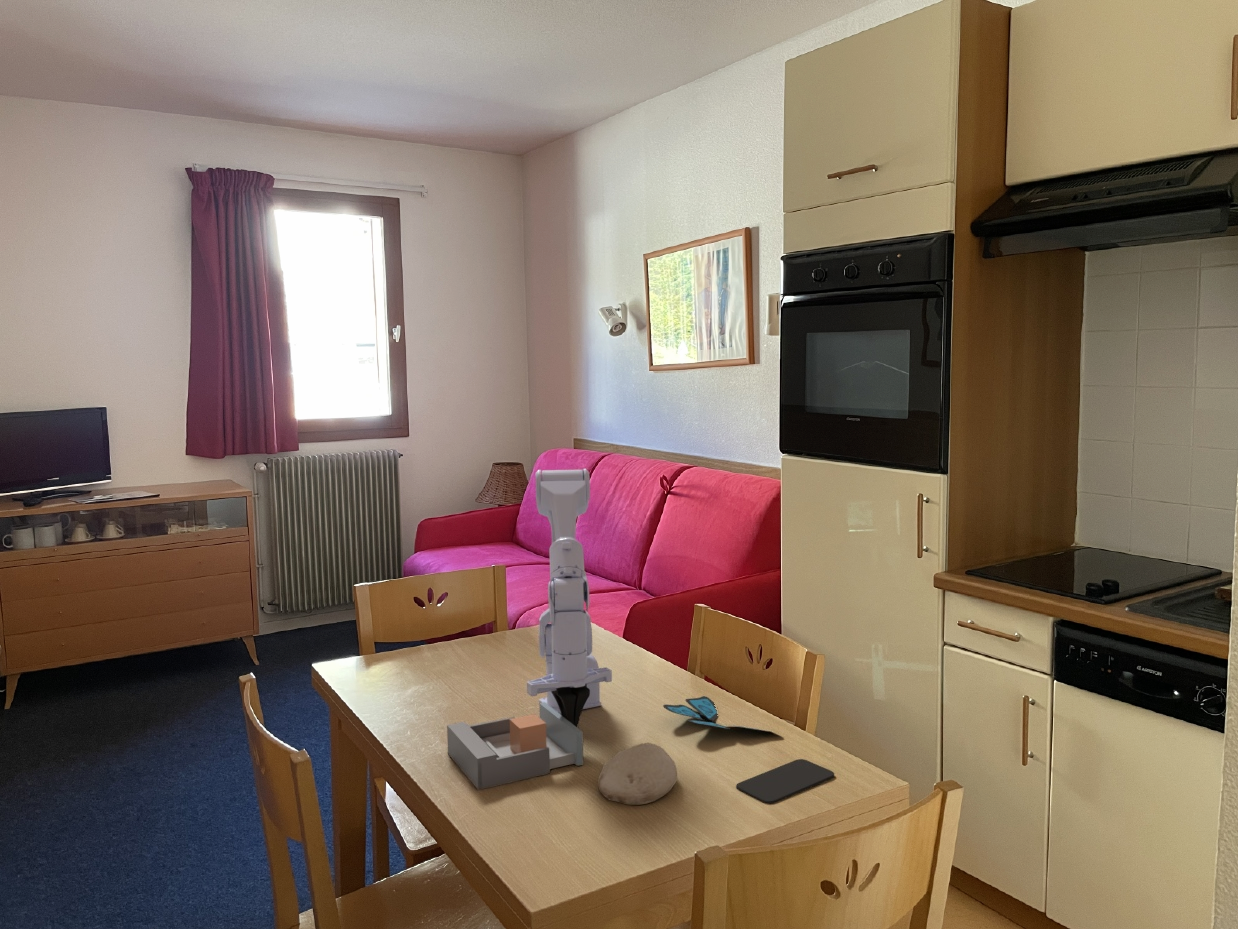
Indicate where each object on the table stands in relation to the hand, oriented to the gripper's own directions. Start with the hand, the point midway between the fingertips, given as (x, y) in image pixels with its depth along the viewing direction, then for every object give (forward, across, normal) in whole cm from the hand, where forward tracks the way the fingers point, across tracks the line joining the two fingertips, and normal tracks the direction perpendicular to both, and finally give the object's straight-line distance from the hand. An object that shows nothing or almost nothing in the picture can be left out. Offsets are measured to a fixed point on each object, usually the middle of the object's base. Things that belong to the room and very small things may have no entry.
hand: (570, 730), depth 151 cm
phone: (+3, +23, -28) cm, 36 cm away
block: (+2, -8, 0) cm, 8 cm away
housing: (+3, -13, 0) cm, 13 cm away
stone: (+3, +3, -18) cm, 19 cm away
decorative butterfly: (+3, +25, -4) cm, 26 cm away
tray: (+3, -8, 0) cm, 9 cm away
